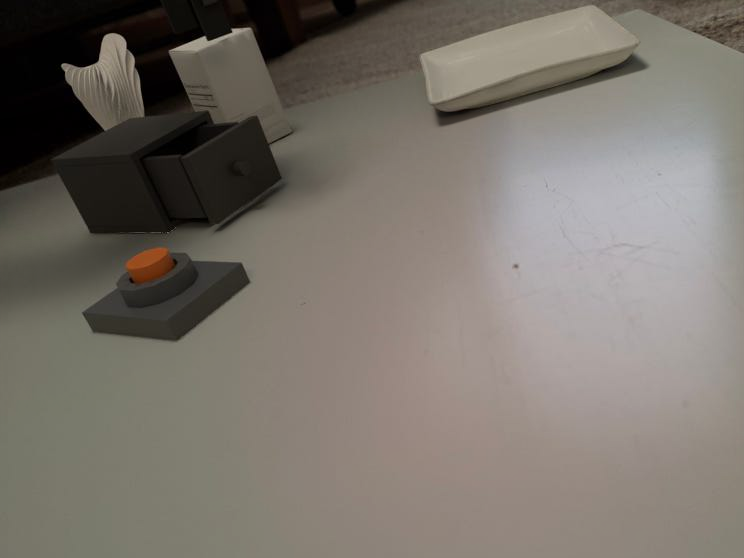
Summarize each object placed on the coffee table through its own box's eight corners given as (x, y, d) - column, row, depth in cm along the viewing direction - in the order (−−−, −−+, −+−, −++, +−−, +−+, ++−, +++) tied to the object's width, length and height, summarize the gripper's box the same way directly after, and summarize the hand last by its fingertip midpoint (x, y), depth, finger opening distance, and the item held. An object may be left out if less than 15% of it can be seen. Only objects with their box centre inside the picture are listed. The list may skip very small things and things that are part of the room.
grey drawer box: (240, 185, 107) (208, 110, 101) (168, 233, 98) (129, 154, 93) (163, 187, 114) (129, 118, 109) (90, 232, 106) (50, 159, 100)
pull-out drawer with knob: (289, 178, 101) (265, 114, 97) (225, 224, 93) (195, 156, 89) (205, 181, 108) (178, 122, 104) (138, 224, 101) (107, 162, 96)
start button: (184, 264, 79) (176, 247, 78) (153, 286, 76) (144, 269, 75) (156, 262, 81) (148, 246, 80) (125, 284, 78) (116, 268, 77)
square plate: (424, 76, 129) (417, 51, 127) (597, 27, 128) (593, 0, 126) (435, 128, 106) (427, 98, 104) (646, 68, 105) (642, 37, 103)
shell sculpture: (106, 175, 127) (44, 55, 117) (133, 154, 133) (77, 39, 124) (153, 166, 125) (94, 43, 115) (178, 145, 131) (124, 27, 122)
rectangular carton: (262, 128, 127) (222, 27, 119) (293, 132, 121) (253, 26, 113) (211, 153, 123) (165, 49, 115) (241, 158, 116) (195, 49, 108)
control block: (250, 282, 80) (234, 245, 78) (177, 341, 74) (156, 302, 72) (167, 277, 87) (150, 243, 85) (92, 332, 80) (71, 296, 78)
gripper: (179, -218, 75) (270, 27, 86) (122, -177, 94) (202, 18, 105) (97, -197, 72) (202, 52, 83) (56, -160, 91) (145, 38, 103)
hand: (202, 34), depth 94 cm, fingers open, 13 cm apart
